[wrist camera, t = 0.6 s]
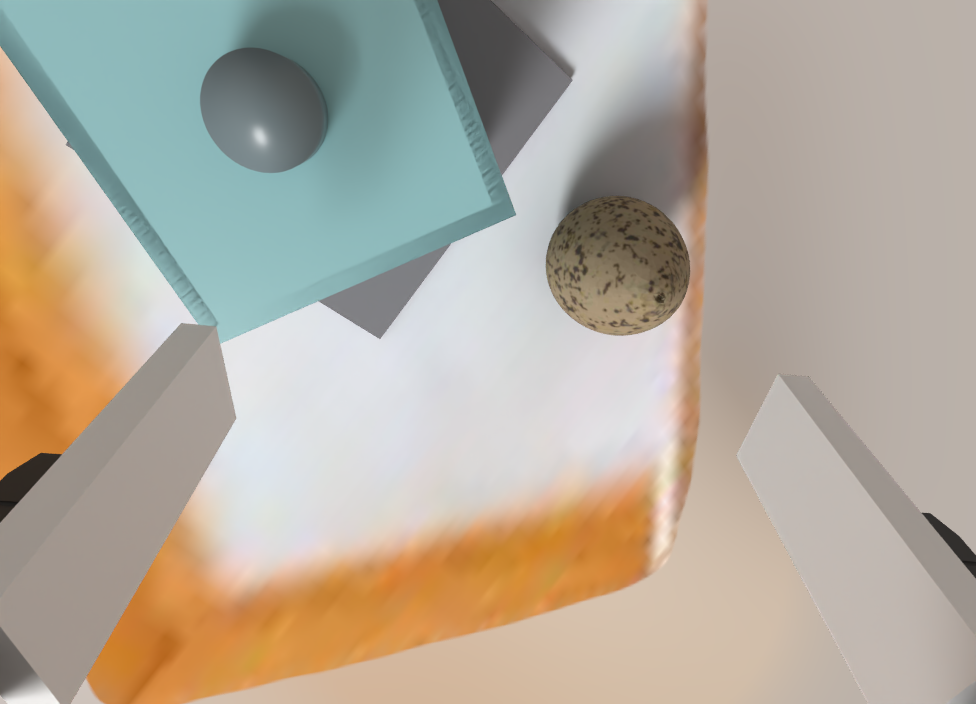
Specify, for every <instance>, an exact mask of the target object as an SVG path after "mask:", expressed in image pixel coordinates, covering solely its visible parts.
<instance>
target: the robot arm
mask: <svg viewBox="0 0 976 704" xmlns="http://www.w3.org/2000/svg"><path fill="white" fill-rule="evenodd" d="M235 420H236V415H235V410H234V406H233V401H232V397H231V392H230V387H229V383H228V378H227V373H226V369H225V364H224V360H223V355H222V350H221V346H220V341H219V336H218V332H217V327H216V326H207V325H195V324H183V323H181V324H180V325H179V326H178V327H177V329H176V330H175V331H174V332H173V333H172V334H171V335H170V336H169V337H168V338H167V340H166V341H165V342H164V343H163V344H162V345H161V346H160V347H159V348H158V350H157V351H156V352H155V353H154V354H153V355H152V356H151V357H150V358H149V359H148V361H147V362H146V363H145V364H144V365H143V366H142V367H141V368H140V369H139V370H138V372H137V373H136V374H135V375H134V376H133V377H132V378H131V379H130V380H129V381H128V383H127V384H126V385H125V386H124V387H123V388H122V389H121V390H120V391H119V392H118V394H117V395H116V396H115V397H114V398H113V399H112V400H111V401H110V402H109V403H108V405H107V406H106V407H105V408H104V409H103V410H102V411H101V412H100V413H99V415H98V416H97V417H96V418H95V419H94V420H93V421H92V422H91V423H90V424H89V426H88V427H87V428H86V429H85V430H84V431H83V432H82V433H81V434H80V435H79V437H78V438H77V439H76V440H75V441H74V442H73V443H72V444H71V445H70V446H69V448H68V449H67V450H66V451H65V452H64V453H63V454H48V453H40V454H38V455H37V456H35V457H34V458H32V459H30V460H29V461H27V462H26V463H24V464H22V465H21V466H19V467H17V468H16V469H14V470H13V471H11V472H9V473H8V474H7V475H6V476H5V477H4V478H3V479H2V480H1V481H0V695H1V697H2V698H3V699H4V700H5V701H6V702H7V703H8V704H71V702H72V700H73V699H74V697H75V695H76V694H77V692H78V690H79V688H80V687H81V685H82V683H83V681H84V680H85V678H86V676H87V675H88V673H89V671H90V669H91V668H92V666H93V664H94V663H95V661H96V659H97V657H98V656H99V654H100V652H101V650H102V649H103V647H104V645H105V644H106V642H107V640H108V638H109V637H110V635H111V633H112V632H113V630H114V628H115V626H116V625H117V623H118V621H119V619H120V618H121V616H122V614H123V613H124V611H125V609H126V607H127V606H128V604H129V602H130V601H131V599H132V597H133V595H134V594H135V592H136V590H137V588H138V587H139V585H140V583H141V582H142V580H143V578H144V576H145V575H146V573H147V571H148V569H149V568H150V566H151V564H152V563H153V561H154V559H155V557H156V556H157V554H158V552H159V551H160V549H161V547H162V545H163V544H164V542H165V540H166V538H167V537H168V535H169V533H170V532H171V530H172V528H173V526H174V525H175V523H176V521H177V520H178V518H179V516H180V514H181V513H182V511H183V509H184V507H185V506H186V504H187V502H188V501H189V499H190V497H191V495H192V494H193V492H194V490H195V489H196V487H197V485H198V483H199V482H200V480H201V478H202V476H203V475H204V473H205V471H206V470H207V468H208V466H209V464H210V463H211V461H212V459H213V458H214V456H215V454H216V452H217V451H218V449H219V447H220V445H221V444H222V442H223V440H224V439H225V437H226V435H227V433H228V432H229V430H230V428H231V427H232V425H233V423H234V421H235ZM736 456H737V458H738V460H739V462H740V464H741V466H742V468H743V469H744V472H745V473H746V475H747V477H748V479H749V481H750V483H751V485H752V487H753V488H754V490H755V492H756V494H757V496H758V498H759V500H760V502H761V504H762V505H763V507H764V509H765V511H766V513H767V515H768V517H769V519H770V520H771V522H772V524H773V526H774V528H775V530H776V532H777V534H778V535H779V537H780V539H781V541H782V543H783V544H784V547H785V549H786V551H787V552H788V554H789V556H790V558H791V560H792V561H793V564H794V566H795V567H796V569H797V571H798V573H799V575H800V577H801V579H802V581H803V582H804V584H805V586H806V588H807V590H808V592H809V594H810V595H811V597H812V599H813V601H814V603H815V605H816V607H817V609H818V611H819V613H820V614H821V616H822V618H823V620H824V622H825V624H826V626H827V628H828V630H829V631H830V633H831V635H832V637H833V639H834V641H835V643H836V645H837V647H838V648H839V650H840V652H841V654H842V656H843V658H844V660H845V662H846V663H847V665H848V667H849V669H850V671H851V673H852V675H853V676H854V678H855V680H856V682H857V684H858V686H859V688H860V690H861V692H862V694H863V695H864V697H865V699H866V701H867V703H868V704H976V555H975V554H974V553H973V552H972V551H971V549H970V548H969V547H968V546H967V545H966V544H965V542H964V541H963V540H962V539H961V538H960V537H959V536H958V535H957V534H956V533H954V532H953V531H952V530H951V529H949V528H948V527H947V526H946V525H944V524H943V523H942V522H940V521H939V520H938V519H937V518H936V517H934V516H933V515H932V514H930V513H921V512H920V511H919V509H918V508H917V507H916V506H915V505H914V503H913V502H912V501H911V500H910V499H909V498H908V496H907V495H906V494H905V493H904V491H903V490H902V489H901V488H900V486H899V485H898V484H897V483H896V482H895V481H894V479H893V478H892V477H891V475H890V474H889V473H888V472H887V471H886V469H885V468H884V467H883V466H882V465H881V464H880V462H879V461H878V460H877V459H876V457H875V456H874V455H873V454H872V452H871V451H870V450H869V449H868V448H867V446H866V445H865V444H864V443H863V442H862V440H861V439H860V438H859V437H858V436H857V434H856V433H855V432H854V431H853V429H852V428H851V427H850V426H849V425H848V423H847V422H846V421H845V420H844V419H843V417H842V416H841V415H840V414H839V413H838V411H837V410H836V409H835V408H834V406H833V405H832V404H831V403H830V402H829V401H828V399H827V398H826V397H825V396H824V394H823V393H822V392H821V391H820V390H819V388H818V387H817V386H816V385H815V383H814V382H813V381H812V380H811V379H810V377H809V376H797V375H786V374H778V375H777V377H776V379H775V381H774V383H773V385H772V387H771V389H770V391H769V393H768V395H767V396H766V398H765V400H764V403H763V404H762V406H761V408H760V410H759V412H758V414H757V416H756V418H755V420H754V422H753V424H752V426H751V428H750V430H749V432H748V434H747V436H746V438H745V439H744V441H743V443H742V445H741V447H740V449H739V451H738V453H737V455H736Z"/></svg>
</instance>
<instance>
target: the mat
mask: <svg viewBox="0 0 976 704" xmlns="http://www.w3.org/2000/svg"><path fill="white" fill-rule="evenodd" d="M437 1H438V4H439V6H440V9H441V12H442V14H443V17H444V20H445V23H446V25H447V28H448V31H449V34H450V36H451V39H452V42H453V44H454V47H455V50H456V53H457V55H458V58H459V61H460V63H461V66H462V69H463V72H464V74H465V77H466V80H467V83H468V85H469V88H470V91H471V93H472V96H473V99H474V102H475V104H476V107H477V110H478V113H479V115H480V118H481V121H482V123H483V126H484V129H485V132H486V134H487V137H488V140H489V143H490V145H491V148H492V151H493V153H494V156H495V159H496V162H497V164H498V167H499V170H500V172H501V175H502V174H503V173H504V172H505V170H506V169H507V168H508V166H509V165H510V164H511V162H512V161H513V160H514V158H515V157H516V156H517V154H518V153H519V152H520V150H521V149H522V148H523V146H524V145H525V143H526V142H527V141H528V139H529V138H530V137H531V135H532V134H533V133H534V131H535V130H536V129H537V127H538V126H539V125H540V123H541V122H542V121H543V119H544V118H545V117H546V115H547V114H548V113H549V111H550V110H551V109H552V107H553V106H554V105H555V103H556V102H557V100H558V99H559V98H560V96H561V95H562V94H563V92H564V91H565V90H566V88H567V87H568V86H569V84H570V83H571V82H572V79H571V78H570V77H569V76H568V75H567V74H566V73H565V72H564V71H563V70H562V69H561V68H560V67H559V66H558V65H556V64H555V63H554V62H553V61H552V60H551V59H550V58H549V57H548V56H547V55H546V54H545V53H544V52H543V51H542V50H541V49H540V48H539V47H538V46H537V45H536V44H535V43H534V42H533V41H532V40H531V39H530V38H529V37H528V36H527V35H526V34H525V33H524V32H523V31H522V30H521V29H520V28H519V27H517V26H516V25H515V24H514V23H513V22H512V21H511V20H510V19H509V18H508V17H507V16H506V15H505V14H504V13H503V12H502V11H501V10H500V9H499V8H498V7H497V6H496V5H495V4H494V3H493V2H492V1H491V0H437ZM66 145H67V146H68V147H70V148H72V146H71V145H70V143H69V142H67V144H66ZM72 149H73V148H72ZM73 150H74V149H73ZM450 244H451V243H450ZM450 244H448V245H446V246H444V247H441V248H439V249H437V250H434V251H432V252H430V253H428V254H425V255H423V256H421V257H418V258H416V259H414V260H411V261H409V262H407V263H405V264H402V265H400V266H398V267H395V268H393V269H391V270H388V271H386V272H384V273H382V274H379V275H377V276H375V277H372V278H370V279H368V280H365V281H363V282H361V283H359V284H356V285H354V286H352V287H349V288H347V289H345V290H342V291H340V292H338V293H336V294H333V295H331V296H329V297H326V298H324V299H322V300H320V301H319V302H321V303H322V304H324V305H326V306H327V307H329V308H331V309H332V310H334V311H335V312H337V313H339V314H340V315H342V316H343V317H345V318H347V319H348V320H350V321H352V322H353V323H355V324H356V325H358V326H360V327H361V328H363V329H365V330H366V331H368V332H369V333H371V334H373V335H374V336H376V337H377V338H379V339H380V338H381V337H382V336H383V334H384V333H385V332H386V330H387V329H388V328H389V326H390V325H391V324H392V322H393V321H394V320H395V318H396V317H397V316H398V314H399V313H400V312H401V310H402V309H403V307H404V306H405V305H406V303H407V302H408V301H409V299H410V298H411V297H412V295H413V294H414V293H415V291H416V290H417V289H418V287H419V286H420V285H421V283H422V282H423V281H424V279H425V278H426V277H427V275H428V274H429V273H430V271H431V270H432V268H433V267H434V266H435V264H436V263H437V262H438V260H439V259H440V258H441V256H442V255H443V254H444V252H445V251H446V250H447V248H448V247H449V246H450Z"/></svg>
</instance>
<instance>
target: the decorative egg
mask: <svg viewBox="0 0 976 704" xmlns="http://www.w3.org/2000/svg"><path fill="white" fill-rule="evenodd" d="M546 275H547V280H548V283H549V286H550V289H551V291H552V294H553V296H554V297H555V299H556V301H557V302H558V304H559V305H560V306H561V308H562V309H563V310H564V311H565V312H566V313H567V314H568V315H569V316H570V317H571V318H573V319H574V320H575V321H577V322H578V323H580V324H581V325H583V326H585V327H587V328H589V329H591V330H594V331H597V332H600V333H603V334H609V335H621V336H623V335H632V334H638V333H642V332H645V331H648V330H651V329H653V328H655V327H657V326H658V325H660V324H662V323H663V322H665V321H666V320H667V319H668V318H670V317H671V316H672V315H673V314H674V313H675V311H676V310H677V309H678V308H679V306H680V305H681V303H682V301H683V299H684V297H685V294H686V292H687V288H688V284H689V277H690V261H689V255H688V251H687V248H686V245H685V243H684V240H683V238H682V236H681V234H680V233H679V231H678V229H677V228H676V227H675V225H674V224H673V222H672V221H671V220H670V219H669V218H668V217H667V216H666V215H665V214H664V213H662V212H661V211H660V210H658V209H657V208H656V207H654V206H652V205H650V204H649V203H646V202H644V201H641V200H639V199H635V198H631V197H624V196H609V197H602V198H598V199H594V200H591V201H589V202H586V203H584V204H582V205H581V206H579V207H577V208H576V209H574V210H573V211H572V212H570V213H569V214H568V215H567V216H566V217H565V218H564V219H563V220H562V221H561V222H560V224H559V225H558V227H557V228H556V230H555V232H554V233H553V235H552V238H551V240H550V243H549V246H548V250H547V255H546Z"/></svg>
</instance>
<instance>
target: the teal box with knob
mask: <svg viewBox="0 0 976 704" xmlns="http://www.w3.org/2000/svg"><path fill="white" fill-rule="evenodd" d="M0 46H1V48H2V49H3V51H4V52H5V53H6V55H7V56H8V58H9V59H10V60H11V62H12V63H13V65H14V66H15V67H16V69H17V70H18V72H19V73H20V74H21V76H22V77H23V79H24V80H25V81H26V83H27V84H28V86H29V87H30V88H31V90H32V91H33V93H34V94H35V96H36V97H37V98H38V100H39V101H40V103H41V104H42V105H43V107H44V108H45V110H46V111H47V112H48V114H49V115H50V117H51V118H52V119H53V121H54V122H55V124H56V125H57V126H58V128H59V129H60V131H61V132H62V133H63V135H64V136H65V138H66V139H67V141H68V142H69V143H70V145H71V146H72V148H73V149H74V150H75V152H76V153H77V155H78V156H79V157H80V159H81V160H82V162H83V163H84V164H85V166H86V167H87V169H88V170H89V171H90V173H91V174H92V176H93V177H94V178H95V180H96V181H97V183H98V184H99V185H100V187H101V188H102V190H103V191H104V193H105V194H106V195H107V197H108V198H109V200H110V201H111V202H112V204H113V205H114V207H115V208H116V209H117V211H118V212H119V214H120V215H121V216H122V218H123V219H124V221H125V222H126V223H127V225H128V226H129V228H130V229H131V230H132V232H133V233H134V235H135V236H136V237H137V239H138V240H139V242H140V243H141V245H142V246H143V247H144V249H145V250H146V252H147V253H148V254H149V256H150V257H151V259H152V260H153V261H154V263H155V264H156V266H157V267H158V268H159V270H160V271H161V273H162V274H163V275H164V277H165V278H166V280H167V281H168V282H169V284H170V285H171V287H172V288H173V289H174V291H175V292H176V294H177V295H178V297H179V298H180V299H181V301H182V302H183V304H184V305H185V306H186V308H187V309H188V311H189V312H190V313H191V315H192V316H193V318H194V319H195V320H196V322H197V323H198V325H207V326H216V327H217V332H218V336H219V341H220V344H221V343H223V342H225V341H228V340H230V339H232V338H234V337H237V336H239V335H241V334H244V333H246V332H248V331H251V330H253V329H255V328H257V327H260V326H262V325H264V324H267V323H269V322H271V321H274V320H276V319H278V318H280V317H283V316H285V315H287V314H290V313H292V312H294V311H297V310H299V309H301V308H303V307H306V306H308V305H310V304H313V303H315V302H317V301H320V300H322V299H324V298H326V297H329V296H331V295H333V294H336V293H338V292H340V291H342V290H345V289H347V288H349V287H352V286H354V285H356V284H359V283H361V282H363V281H365V280H368V279H370V278H372V277H375V276H377V275H379V274H382V273H384V272H386V271H388V270H391V269H393V268H395V267H398V266H400V265H402V264H405V263H407V262H409V261H411V260H414V259H416V258H418V257H421V256H423V255H425V254H428V253H430V252H432V251H434V250H437V249H439V248H441V247H444V246H446V245H448V244H450V243H453V242H455V241H457V240H460V239H462V238H464V237H467V236H469V235H471V234H473V233H476V232H478V231H480V230H483V229H485V228H487V227H490V226H492V225H494V224H496V223H499V222H501V221H503V220H506V219H508V218H510V217H513V216H515V215H516V213H515V211H514V208H513V205H512V202H511V200H510V197H509V194H508V192H507V189H506V186H505V183H504V181H503V178H502V175H501V172H500V170H499V167H498V164H497V162H496V159H495V156H494V153H493V151H492V148H491V145H490V143H489V140H488V137H487V134H486V132H485V129H484V126H483V123H482V121H481V118H480V115H479V113H478V110H477V107H476V104H475V102H474V99H473V96H472V93H471V91H470V88H469V85H468V83H467V80H466V77H465V74H464V72H463V69H462V66H461V63H460V61H459V58H458V55H457V53H456V50H455V47H454V44H453V42H452V39H451V36H450V34H449V31H448V28H447V25H446V23H445V20H444V17H443V14H442V12H441V9H440V6H439V4H438V1H437V0H0Z"/></svg>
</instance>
